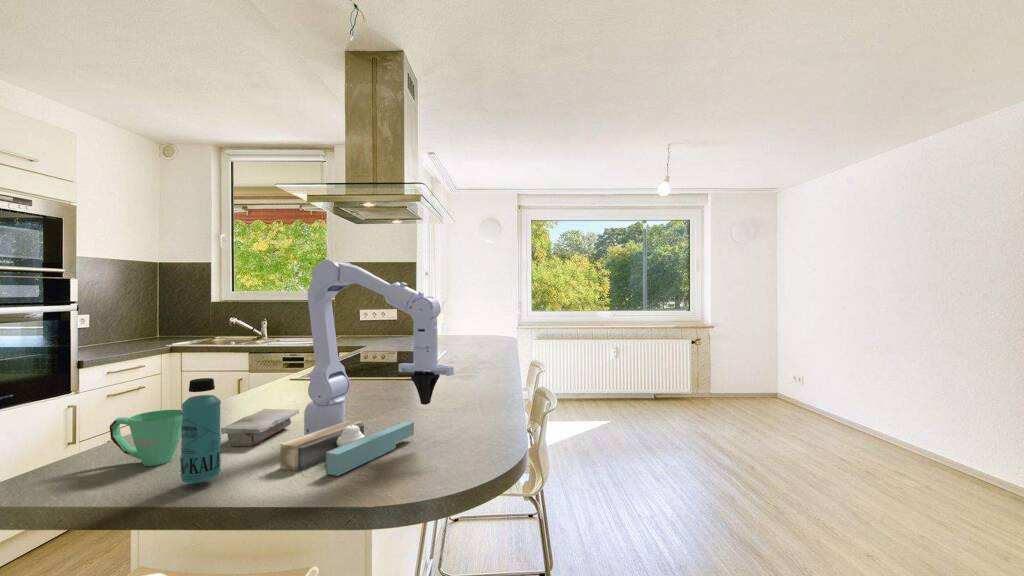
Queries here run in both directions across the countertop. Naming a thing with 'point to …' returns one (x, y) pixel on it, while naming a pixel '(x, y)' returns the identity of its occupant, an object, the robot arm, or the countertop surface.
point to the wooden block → (312, 447)
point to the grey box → (258, 426)
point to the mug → (150, 435)
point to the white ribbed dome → (349, 435)
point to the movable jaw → (366, 448)
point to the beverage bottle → (200, 434)
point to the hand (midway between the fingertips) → (425, 403)
